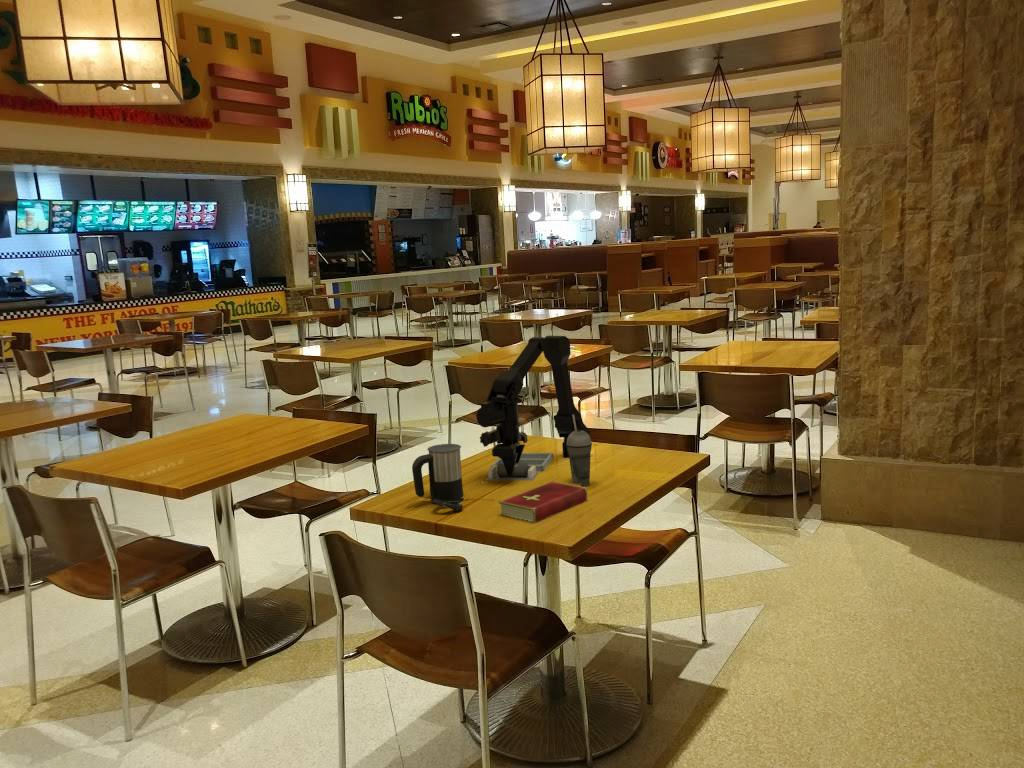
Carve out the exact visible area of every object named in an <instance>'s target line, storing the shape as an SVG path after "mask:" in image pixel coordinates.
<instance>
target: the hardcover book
mask: <svg viewBox="0 0 1024 768" xmlns="http://www.w3.org/2000/svg"><path fill="white" fill-rule="evenodd" d="M584 501H585V502H587V501H588V490H587V488H586V486H584V487H580V485H579V486H578V485H573V484H569V483H563V482H556V481H549V482H547V483H544V484H541V485H538V486H536V487H534V488H531V489H529V490H526V491H523V492H521V493H517V494H515V495H513V496H510V497H507V498H505V499H503V500H499V501H498V504H500V509H501V516H505V515H506V516H505V517H509V516H510V517H509V518H513V517H514V519H518V518H519V520H522V519H524V520H523V521H526V520H528V521H527V522H531V521H532V523H533V524H535V522H536V523H538V522H541V521H542V519H543V520H545V519H547V518H549V516H550V517H552V516H554V515H557V514H559V513H561V512H563V510H564V511H567V510H568V509H571V508H573V507H575V506H574V505H576V506H578V505H579V503H580V504H583V503H585V502H584ZM582 502H583V503H582ZM577 504H578V505H577ZM572 506H573V507H572ZM570 507H571V508H570ZM558 512H559V513H558ZM556 513H557V514H556ZM553 514H554V515H553ZM551 515H552V516H551ZM546 517H547V518H546ZM544 518H545V519H544ZM537 521H538V522H537Z"/></svg>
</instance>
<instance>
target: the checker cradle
mask: <svg viewBox="0 0 1024 768" xmlns="http://www.w3.org/2000/svg"><path fill="white" fill-rule="evenodd" d="M538 474H539V472H537V471H536V466H531V468H530V469H529V470H528V476H527V477H499V476H498V474H497V473H496V466H492V467H491V466H490V468H488V469H487V476H488V477H487V478H486V479H485V480H486V481H534V479H535V478H536V477H537V476H538Z"/></svg>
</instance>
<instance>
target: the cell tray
mask: <svg viewBox="0 0 1024 768" xmlns="http://www.w3.org/2000/svg"><path fill="white" fill-rule="evenodd" d="M553 459H554V453H553V452H522V455H521V458H520V461H519V463H528V468H529V469H530V468H531V466H536V472H544V471H545V469H546V468H547V467H548V466H549V464H550V463H551V462H552V460H553ZM498 463H503V461H502V459H501V458H499V457H497V459H496V460H495V461H494V462H493V463H492V464H491V465H490V468H491V467H492V466H498Z"/></svg>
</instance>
